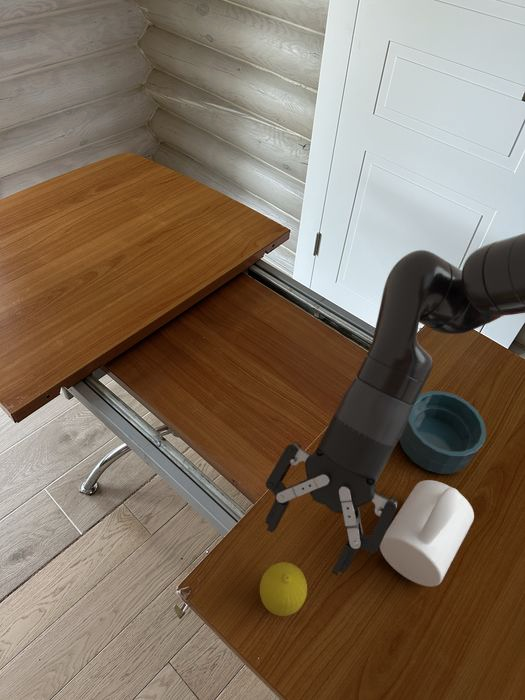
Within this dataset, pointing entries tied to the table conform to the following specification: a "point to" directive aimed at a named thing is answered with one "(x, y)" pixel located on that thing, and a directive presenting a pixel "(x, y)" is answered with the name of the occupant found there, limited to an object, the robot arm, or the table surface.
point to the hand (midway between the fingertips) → (302, 550)
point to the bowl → (442, 432)
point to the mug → (427, 532)
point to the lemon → (283, 589)
